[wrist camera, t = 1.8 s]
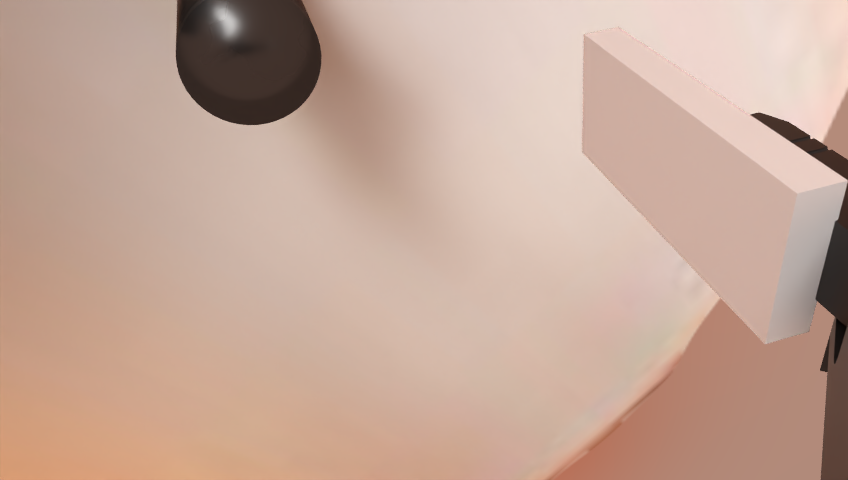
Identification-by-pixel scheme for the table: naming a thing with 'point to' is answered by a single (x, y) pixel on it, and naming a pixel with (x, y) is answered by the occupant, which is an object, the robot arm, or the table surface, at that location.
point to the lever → (247, 57)
